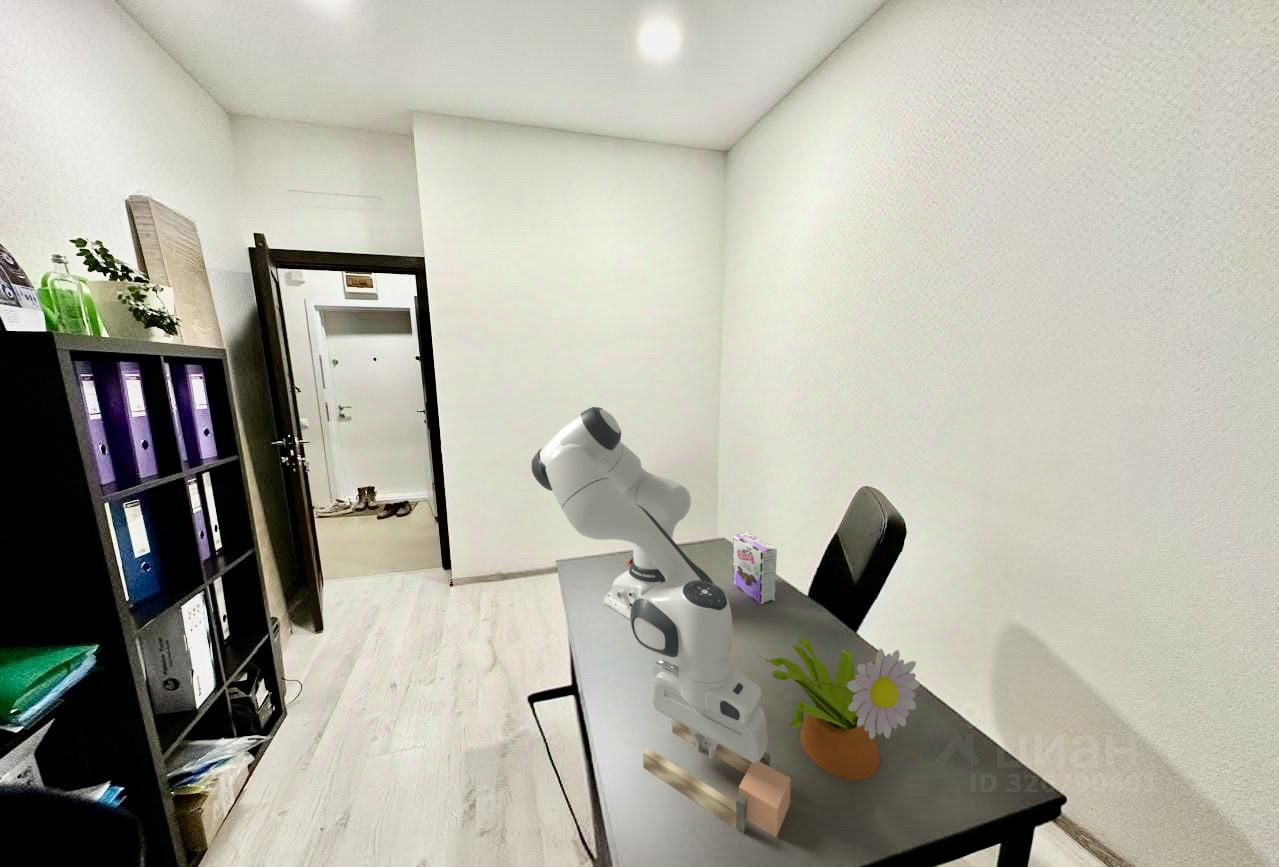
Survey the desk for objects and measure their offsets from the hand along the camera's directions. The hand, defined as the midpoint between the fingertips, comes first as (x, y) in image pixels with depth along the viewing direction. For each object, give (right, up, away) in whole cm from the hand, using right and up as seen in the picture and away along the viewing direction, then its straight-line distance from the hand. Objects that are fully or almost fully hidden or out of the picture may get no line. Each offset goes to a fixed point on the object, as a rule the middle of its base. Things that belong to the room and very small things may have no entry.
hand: (706, 752), depth 75 cm
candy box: (+23, +6, +59) cm, 64 cm away
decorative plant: (+26, -2, +6) cm, 26 cm away
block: (+8, -5, -6) cm, 11 cm away
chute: (0, -4, 0) cm, 4 cm away
